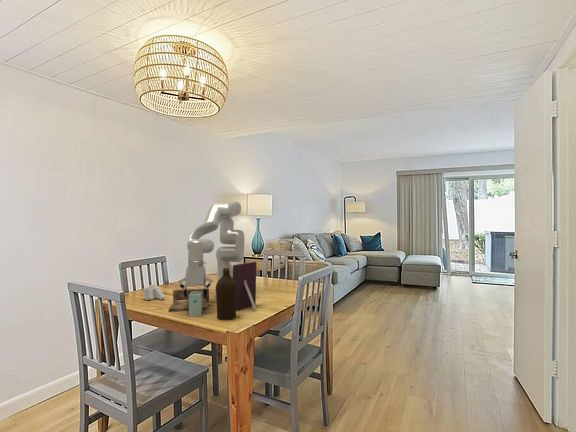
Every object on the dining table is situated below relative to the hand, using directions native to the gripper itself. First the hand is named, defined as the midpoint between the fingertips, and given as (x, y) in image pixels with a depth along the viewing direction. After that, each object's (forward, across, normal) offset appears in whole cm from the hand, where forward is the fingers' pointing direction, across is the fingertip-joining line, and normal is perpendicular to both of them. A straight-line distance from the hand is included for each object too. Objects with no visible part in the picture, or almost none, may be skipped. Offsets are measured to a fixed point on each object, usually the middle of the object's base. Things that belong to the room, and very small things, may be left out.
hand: (195, 296), depth 168 cm
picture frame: (+9, -28, -4) cm, 30 cm away
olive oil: (+9, -16, +7) cm, 20 cm away
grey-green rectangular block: (+9, 0, -1) cm, 9 cm away
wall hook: (+9, +28, -35) cm, 45 cm away
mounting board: (+9, +5, -14) cm, 17 cm away
